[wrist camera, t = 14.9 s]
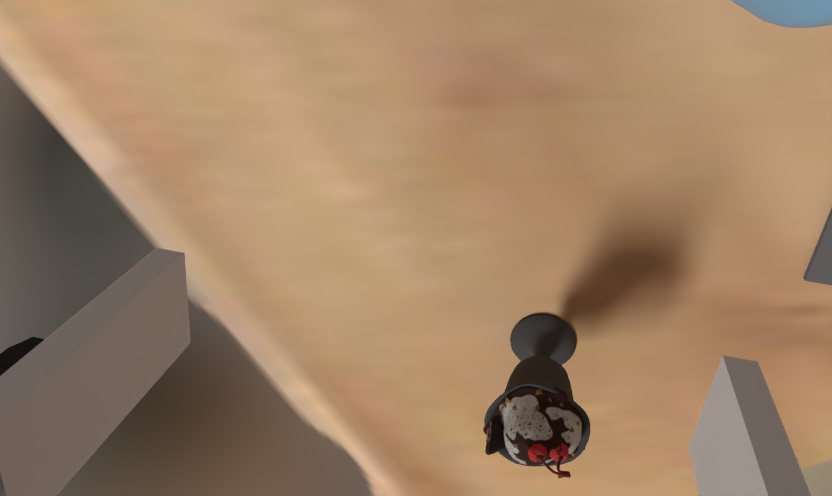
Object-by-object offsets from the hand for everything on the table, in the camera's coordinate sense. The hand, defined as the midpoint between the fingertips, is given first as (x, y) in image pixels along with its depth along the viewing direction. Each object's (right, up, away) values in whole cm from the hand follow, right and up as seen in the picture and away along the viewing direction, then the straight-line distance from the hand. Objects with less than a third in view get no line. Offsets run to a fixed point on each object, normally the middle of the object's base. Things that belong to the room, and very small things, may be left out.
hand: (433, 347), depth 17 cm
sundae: (+9, -5, +37) cm, 38 cm away
